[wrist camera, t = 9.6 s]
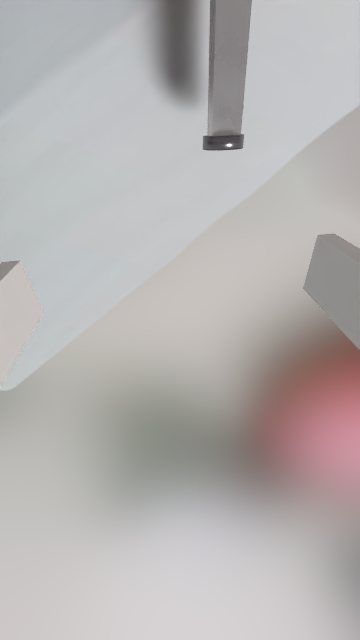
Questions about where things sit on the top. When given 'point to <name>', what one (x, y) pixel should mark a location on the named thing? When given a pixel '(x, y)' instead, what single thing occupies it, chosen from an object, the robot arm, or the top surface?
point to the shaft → (227, 73)
